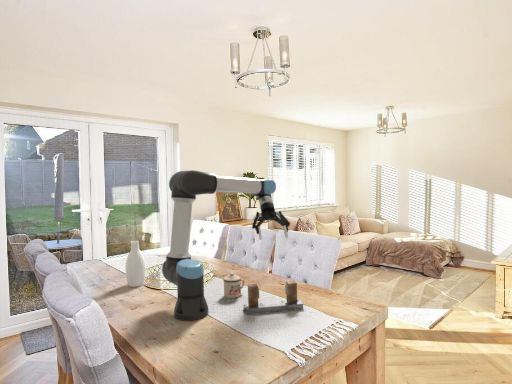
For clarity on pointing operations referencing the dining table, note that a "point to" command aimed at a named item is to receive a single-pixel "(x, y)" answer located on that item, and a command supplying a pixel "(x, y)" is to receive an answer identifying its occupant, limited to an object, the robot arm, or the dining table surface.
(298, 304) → the rail
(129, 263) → the bottle
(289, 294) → the brown wooden upright block
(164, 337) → the dining table surface
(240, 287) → the teacup with lid
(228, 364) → the dining table surface
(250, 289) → the post
